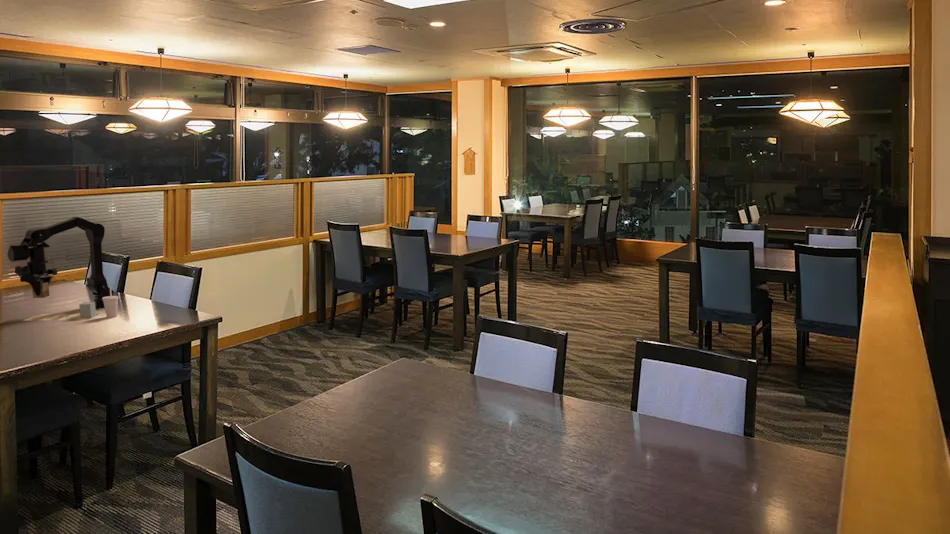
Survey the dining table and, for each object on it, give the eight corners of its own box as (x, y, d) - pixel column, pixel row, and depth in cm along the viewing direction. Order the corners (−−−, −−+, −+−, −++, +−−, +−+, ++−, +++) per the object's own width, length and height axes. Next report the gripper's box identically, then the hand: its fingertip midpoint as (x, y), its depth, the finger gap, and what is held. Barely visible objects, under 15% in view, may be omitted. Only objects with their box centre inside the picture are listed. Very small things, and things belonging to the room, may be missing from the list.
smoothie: (123, 317, 314) (120, 286, 312) (114, 321, 308) (112, 289, 306) (109, 317, 315) (106, 285, 312) (100, 320, 308) (97, 288, 306)
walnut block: (49, 295, 311) (48, 282, 310) (43, 297, 307) (42, 283, 306) (38, 295, 311) (37, 282, 310) (33, 297, 306) (31, 284, 305)
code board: (100, 315, 317) (100, 313, 317) (87, 322, 306) (87, 319, 305) (37, 316, 316) (37, 314, 316) (22, 322, 304) (22, 320, 304)
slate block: (96, 315, 314) (94, 302, 313) (91, 317, 309) (90, 304, 308) (85, 315, 313) (84, 302, 312) (80, 317, 309) (79, 304, 308)
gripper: (30, 255, 315) (33, 290, 317) (5, 262, 296) (9, 299, 299) (56, 255, 315) (59, 290, 318) (32, 262, 297) (36, 299, 300)
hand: (41, 294), depth 309 cm, fingers closed on walnut block, 4 cm apart
